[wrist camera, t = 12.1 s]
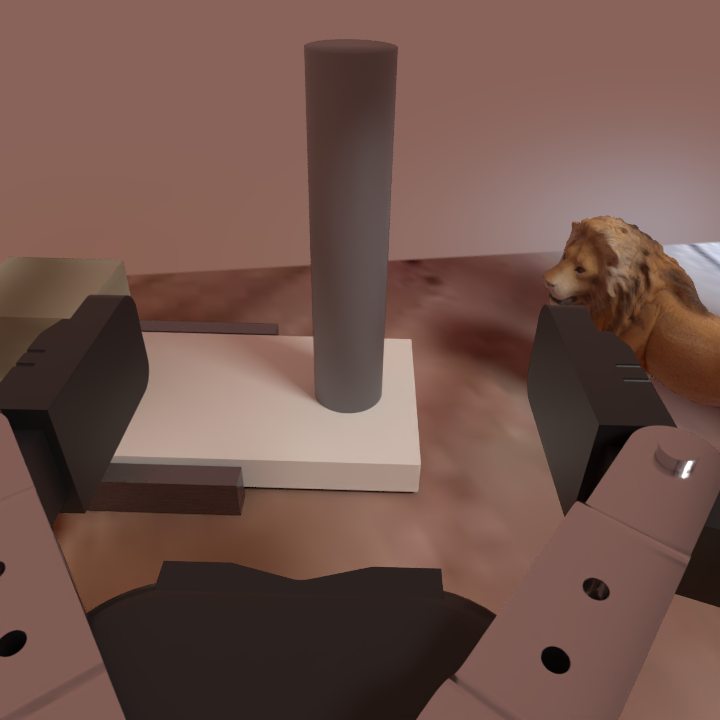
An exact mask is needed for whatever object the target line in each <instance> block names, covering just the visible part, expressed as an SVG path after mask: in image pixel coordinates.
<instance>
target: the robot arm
mask: <svg viewBox="0 0 720 720" xmlns="http://www.w3.org/2000/svg"><path fill="white" fill-rule="evenodd" d="M640 366H641V364H640V362H639V361H638V359H637V357H636V355H635V354H634V352H633V350H632V348H631V347H630V346H629V345H628V344H626V343H625V342H624V341H622V340H621V339H620V338H619V337H617V336H616V335H615V334H613V333H612V332H611V331H598V330H597V328H596V326H595V324H594V322H593V320H592V318H591V316H590V314H589V313H588V311H587V309H586V307H585V306H576V305H544V306H543V307H542V309H541V312H540V315H539V320H538V325H537V330H536V335H535V340H534V345H533V350H532V355H531V360H530V365H529V370H528V379H527V389H528V398H529V402H530V406H531V409H532V412H533V415H534V419H535V422H536V425H537V429H538V432H539V435H540V438H541V442H542V445H543V448H544V451H545V455H546V458H547V461H548V465H549V468H550V471H551V474H552V478H553V481H554V484H555V487H556V491H557V494H558V497H559V501H560V504H561V507H562V510H563V514H564V519H563V520H562V522H561V523H560V525H559V526H558V528H557V529H556V530H555V532H554V533H553V535H552V536H551V538H550V539H549V541H548V542H547V543H546V545H545V546H544V548H543V549H542V551H541V552H540V554H539V555H538V557H537V558H536V559H535V561H534V562H533V564H532V565H531V567H530V568H529V570H528V571H527V572H526V574H525V575H524V577H523V578H522V580H521V581H520V583H519V584H518V586H517V587H516V588H515V590H514V591H513V593H512V594H511V596H510V597H509V599H508V600H507V601H506V603H505V604H504V606H503V607H502V609H501V610H500V612H499V613H498V615H496V614H494V613H493V612H491V611H490V610H488V609H487V608H485V607H483V606H481V605H479V604H477V603H475V602H473V601H471V600H469V599H467V598H464V597H462V596H459V595H456V594H454V593H450V592H446V591H443V585H442V574H441V569H433V568H397V567H369V568H364V569H359V570H354V571H349V572H344V573H339V574H334V575H329V576H324V577H319V578H313V579H308V580H294V579H290V578H286V577H282V576H279V575H275V574H271V573H268V572H264V571H260V570H256V569H253V568H249V567H245V566H241V565H238V564H234V563H220V562H184V561H164V562H163V565H162V568H161V571H160V574H159V577H158V580H157V583H155V584H150V585H146V586H143V587H140V588H137V589H134V590H131V591H128V592H126V593H123V594H121V595H119V596H116V597H114V598H112V599H110V600H108V601H106V602H104V603H103V604H101V605H99V606H97V607H96V608H94V609H92V610H91V611H89V612H88V613H87V612H86V609H85V607H84V604H83V602H82V599H81V597H80V594H79V592H78V589H77V587H76V584H75V582H74V579H73V577H72V574H71V572H70V569H69V567H68V564H67V562H66V559H65V557H64V554H63V552H62V549H61V547H60V544H59V542H58V539H57V537H56V534H55V532H54V530H53V527H52V525H53V523H54V521H55V519H56V517H57V515H58V513H86V511H87V508H88V506H89V504H90V502H91V500H92V498H93V496H94V494H95V492H96V490H97V488H98V486H99V484H100V482H101V480H102V478H103V476H104V474H105V472H106V470H107V468H108V466H109V464H110V462H111V460H112V458H113V456H114V454H115V452H116V450H117V448H118V446H119V444H120V442H121V440H122V438H123V436H124V434H125V432H126V430H127V428H128V426H129V424H130V422H131V420H132V418H133V416H134V414H135V412H136V410H137V407H138V405H139V403H140V401H141V399H142V397H143V395H144V393H145V391H146V389H147V385H148V380H149V362H148V357H147V352H146V348H145V344H144V339H143V335H142V331H141V326H140V322H139V317H138V313H137V309H136V305H135V302H134V300H133V299H132V297H131V296H129V295H89V296H87V297H86V299H85V300H84V301H83V302H82V304H81V305H80V306H79V308H78V309H77V310H76V312H75V313H74V314H73V315H72V317H71V318H70V319H61V320H60V321H58V322H57V323H55V324H54V325H52V326H50V327H49V328H47V329H46V330H44V331H43V332H41V333H40V334H39V335H38V336H37V338H36V339H35V340H34V341H33V343H32V344H31V345H30V346H29V347H28V349H27V353H24V354H23V355H22V356H21V357H20V358H19V360H18V361H17V362H16V367H12V368H11V369H10V371H9V372H8V373H7V374H6V376H5V377H4V378H3V379H2V381H1V382H0V720H618V719H619V717H620V715H621V713H622V710H623V708H624V706H625V704H626V701H627V699H628V697H629V695H630V692H631V690H632V688H633V686H634V684H635V681H636V679H637V677H638V675H639V672H640V670H641V668H642V666H643V663H644V661H645V659H646V657H647V655H648V652H649V650H650V648H651V646H652V643H653V641H654V639H655V637H656V634H657V632H658V630H659V628H660V625H661V623H662V621H663V619H664V617H665V614H666V612H667V610H668V608H669V605H670V603H671V601H672V599H673V596H674V594H677V595H681V596H684V597H687V598H691V599H694V600H697V601H700V602H704V603H707V604H710V605H714V606H717V607H720V453H719V452H718V450H717V449H715V448H714V447H713V446H712V445H711V444H710V443H708V442H707V441H706V440H704V439H702V438H701V437H699V436H697V435H695V434H693V433H691V432H688V431H685V430H682V429H679V428H677V426H676V424H675V423H674V421H673V419H672V417H671V416H670V414H669V412H668V411H667V409H666V407H665V405H664V404H663V402H662V400H661V398H660V397H659V395H658V393H657V392H656V390H655V388H654V386H653V385H652V383H651V382H649V378H648V376H647V374H646V373H645V371H644V369H643V368H641V367H640Z"/></svg>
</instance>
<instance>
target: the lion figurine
mask: <svg viewBox="0 0 720 720" xmlns="http://www.w3.org/2000/svg"><path fill="white" fill-rule="evenodd" d="M543 278H544V285H545V287H546V288H547V289H549V290H550V295H549V303H550V305H576V306H585V307H586V309H587V311H588V313H589V314H590V316H591V318H592V320H593V322H594V324H595V326H596V328H597V330H598V331H611V332H612V333H613V334H615V335H616V336H617V337H619V338H620V339H621V340H622V341H624V342H625V343H626V344H628V345H629V346H630V347H631V348H632V350H633V352H634V354H635V355H636V357H637V359H638V361H639V362H640V364H641V366H640V367H641V368H643V369H644V371H645V373H646V374H647V376H648V378H649V380H650V378H651V376H653V377H654V378H655V379H656V380H658V381H659V382H661V383H662V384H663V385H665V386H666V387H668V388H669V389H671V390H673V391H674V392H676V393H678V394H679V395H681V396H683V397H685V398H687V399H689V400H691V401H693V402H696V403H699V404H703V405H707V406H714V407H720V318H719V317H717V316H715V315H714V314H712V313H710V312H708V310H707V309H706V307H705V306H704V305H703V304H702V303H701V301H700V300H699V297H698V294H697V292H696V288H695V286H694V283H693V281H692V280H691V278H690V277H689V275H687V274H686V273H685V270H684V269H683V268H681V267H680V266H679V264H678V262H677V261H676V260H675V259H674V258H671V257H669V256H668V255H666V254H665V253H664V251H663V246H662V245H660V244H659V243H658V242H657V241H655V240H653V239H652V238H651V237H650V236H649V235H647V234H645V233H643V232H641V231H640V230H639V229H638V227H637V226H636V225H630V224H627V223H625V222H624V221H623V220H622V219H621V218H615V217H610V216H599V217H595V218H592V219H584V220H582V221H581V223H579V222H573V223H572V232H571V235H570V238H569V240H568V241H567V243H566V247H565V249H564V254H563V256H562V258H561V261H560V263H559V264H558V265H556V266H555V267H554V268H552V269H550V270H549V271H547V272H545V274H544V275H543Z"/></svg>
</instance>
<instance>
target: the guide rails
mask: <svg viewBox="0 0 720 720" xmlns="http://www.w3.org/2000/svg"><path fill="white" fill-rule="evenodd" d="M139 322H140V326H141V331H142V332H165V333H201V334H237V335H272V336H279V333H278V324H265V323H228V322H192V321H156V320H139ZM244 498H245V491H244V483H243V475H242V467H229V466H196V465H163V464H130V463H110V464H109V466H108V468H107V470H106V472H105V474H104V476H103V478H102V480H101V482H100V484H99V486H98V488H97V490H96V492H95V494H94V496H93V498H92V500H91V502H90V504H89V506H88V508H87V510H97V511H129V512H161V513H193V514H225V515H241V511H242V507H243V502H244Z"/></svg>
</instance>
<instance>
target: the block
mask: <svg viewBox="0 0 720 720" xmlns="http://www.w3.org/2000/svg"><path fill="white" fill-rule="evenodd" d="M89 295H129V296H131V295H130V290H129V285H128V281H127V276H126V272H125V267H124V263H123V260H110V259H73V258H72V259H71V258H34V257H9V258H8V259H6V260H5V261H4V262H3V263H2V264H1V265H0V382H1V381H2V379H3V378H4V377H5V376H6V374H7V373H8V372H9V371H10V369H11V368H12V367H16V362H17V361H18V360H19V358H20V357H21V356H22V355H23V354H24V353H27V349H28V347H29V346H30V345H31V344H32V343H33V341H34V340H35V339H36V338H37V336H38V335H39V334H40V333H41V332H43V331H44V330H46V329H47V328H49V327H50V326H52V325H54V324H55V323H57V322H58V321H60V320H61V319H70V318H71V317H72V315H73V314H74V313H75V312H76V310H77V309H78V308H79V306H80V305H81V304H82V302H83V301H84V300H85V299H86V297H87V296H89Z"/></svg>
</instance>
